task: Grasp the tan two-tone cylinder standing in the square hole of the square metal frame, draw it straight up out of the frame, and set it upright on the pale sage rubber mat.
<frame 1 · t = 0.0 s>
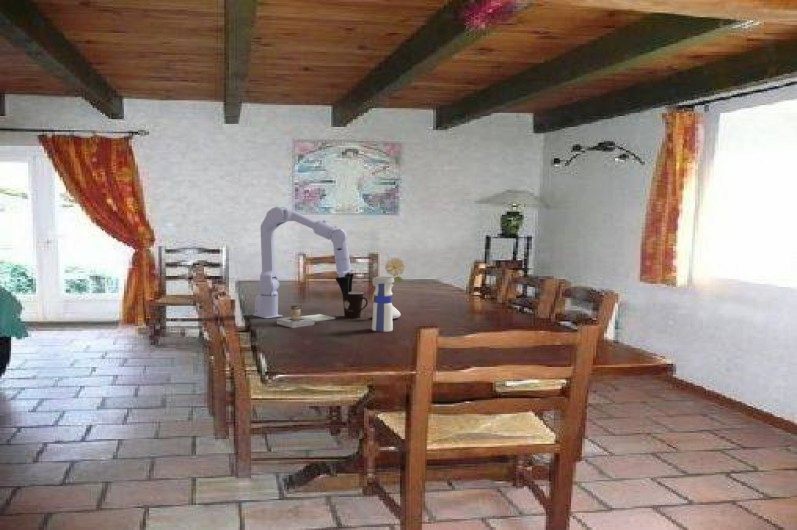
hand: (347, 293, 253), 11 cm above the table, tool pointing down, fingers open, 7 cm apart
flower in vase: (388, 319, 260), on the table
tan two-tone cylinder: (295, 315, 240), in the square metal frame
coffee mug: (353, 318, 260), on the table
mat: (317, 318, 255), on the table
square metal frame: (295, 324, 241), on the table
water bottle: (381, 330, 235), on the table
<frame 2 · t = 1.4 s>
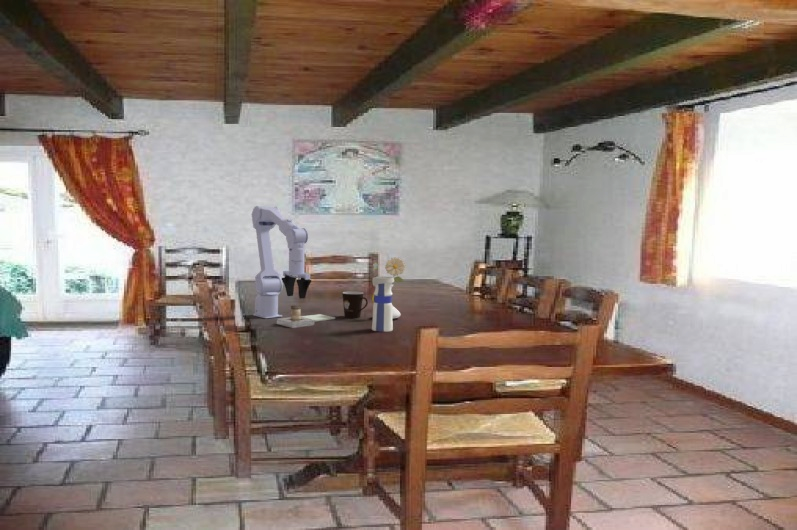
hand: (296, 297, 240), 10 cm above the table, tool pointing down, fingers open, 7 cm apart
nothing on the table moved.
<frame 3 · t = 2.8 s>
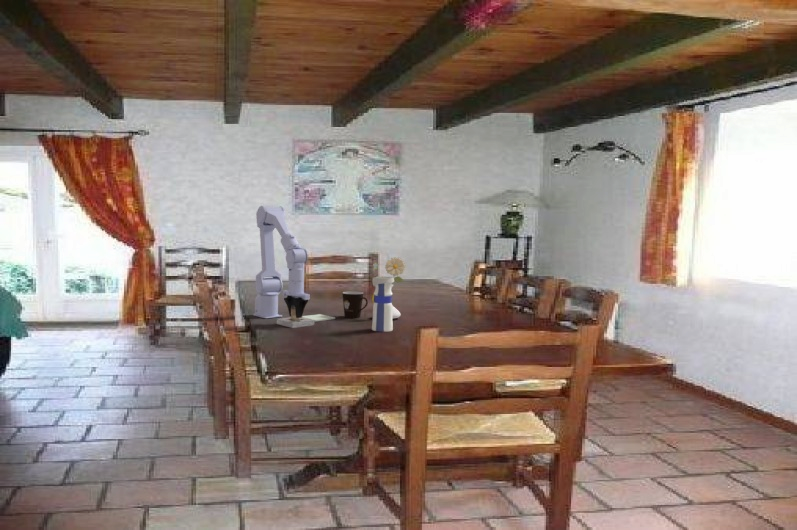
hand: (295, 316, 240), 3 cm above the table, tool pointing down, fingers closed on tan two-tone cylinder, 4 cm apart
tan two-tone cylinder: (295, 315, 240), in the square metal frame, touching gripper
everything else where it was.
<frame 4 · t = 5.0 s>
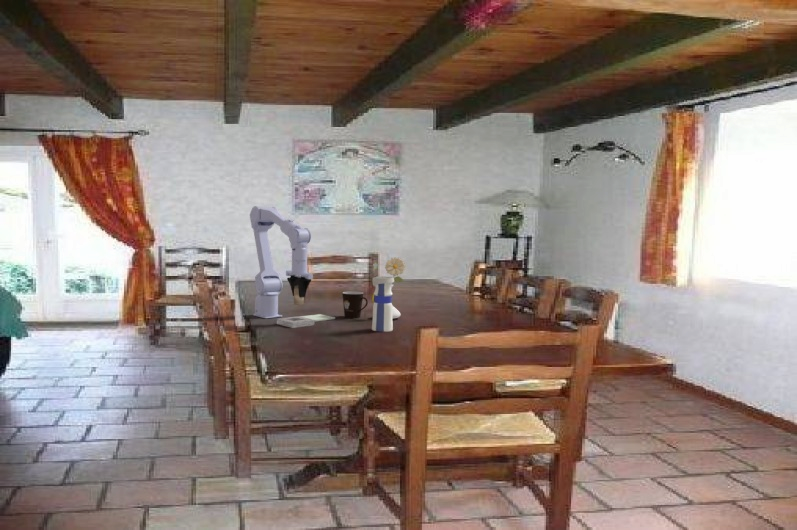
hand: (298, 296, 242), 10 cm above the table, tool pointing down, fingers closed on tan two-tone cylinder, 4 cm apart
tan two-tone cylinder: (298, 295, 242), point 11 cm above the table, touching gripper
everything else where it was.
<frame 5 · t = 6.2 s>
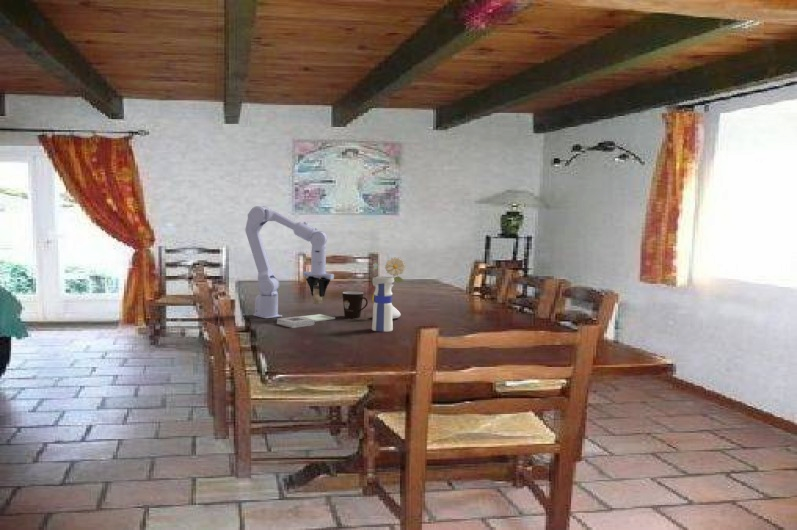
hand: (318, 296, 255), 9 cm above the table, tool pointing down, fingers closed on tan two-tone cylinder, 4 cm apart
tan two-tone cylinder: (317, 294, 255), point 10 cm above the table, touching gripper
everything else where it was.
when the fingers open (5 cm above the table, at t = 7.3 s): tan two-tone cylinder stays where it is, resting on mat.
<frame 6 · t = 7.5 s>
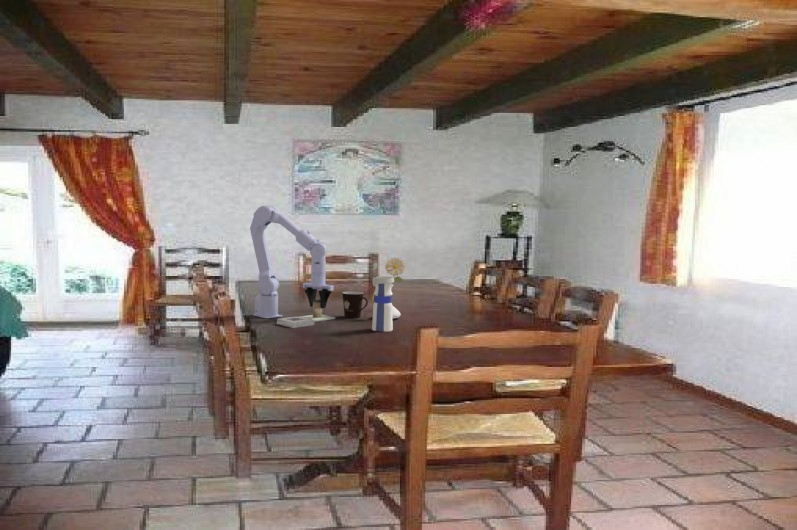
hand: (317, 307, 255), 5 cm above the table, tool pointing down, fingers open, 5 cm apart
tan two-tone cylinder: (317, 308, 255), on the mat, point 4 cm above the table
everything else where it was.
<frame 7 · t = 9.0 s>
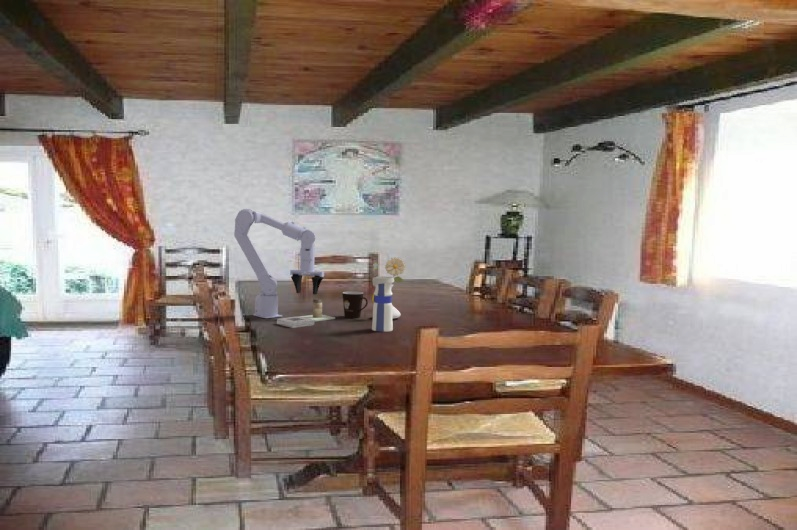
hand: (306, 293, 258), 9 cm above the table, tool pointing down, fingers open, 7 cm apart
nothing on the table moved.
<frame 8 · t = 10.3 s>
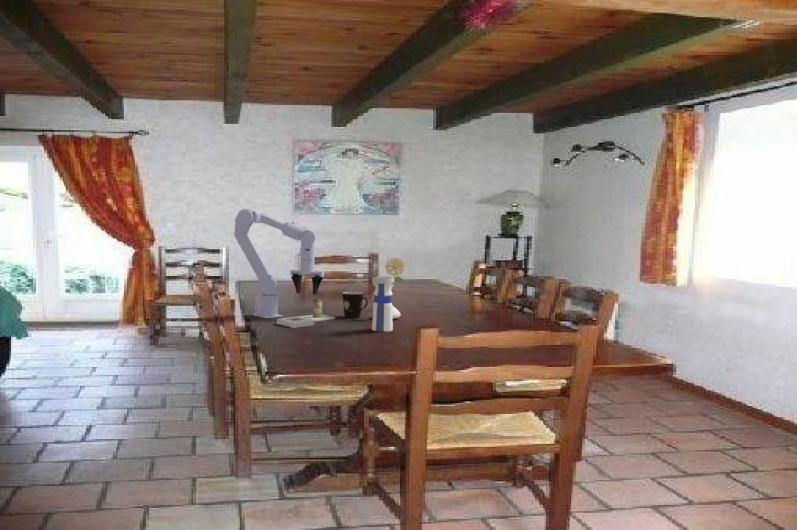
hand: (306, 293, 258), 9 cm above the table, tool pointing down, fingers open, 7 cm apart
nothing on the table moved.
at the end: tan two-tone cylinder 0.1 cm off-centre on the mat, point 4.1 cm above the mat's base; tan two-tone cylinder tilted 1°; the gripper is holding nothing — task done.
